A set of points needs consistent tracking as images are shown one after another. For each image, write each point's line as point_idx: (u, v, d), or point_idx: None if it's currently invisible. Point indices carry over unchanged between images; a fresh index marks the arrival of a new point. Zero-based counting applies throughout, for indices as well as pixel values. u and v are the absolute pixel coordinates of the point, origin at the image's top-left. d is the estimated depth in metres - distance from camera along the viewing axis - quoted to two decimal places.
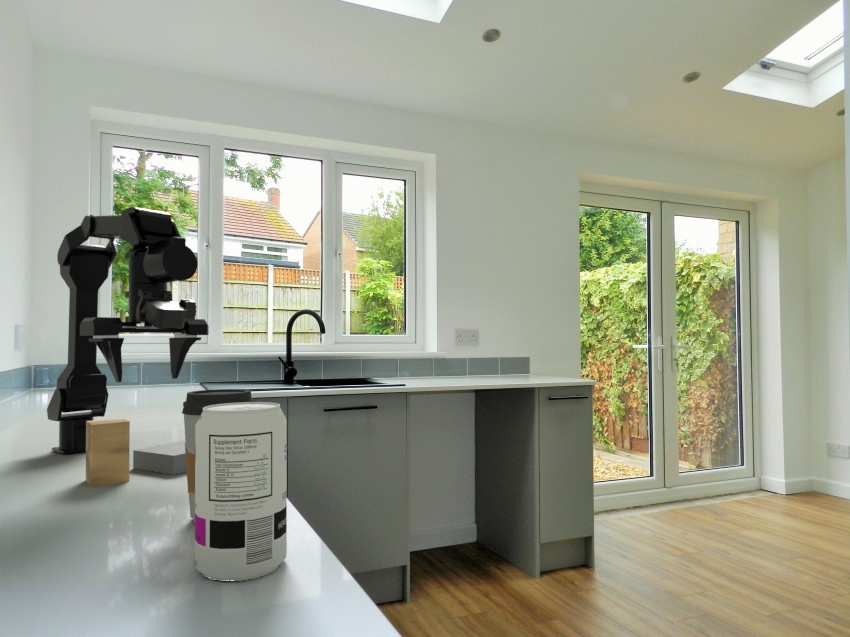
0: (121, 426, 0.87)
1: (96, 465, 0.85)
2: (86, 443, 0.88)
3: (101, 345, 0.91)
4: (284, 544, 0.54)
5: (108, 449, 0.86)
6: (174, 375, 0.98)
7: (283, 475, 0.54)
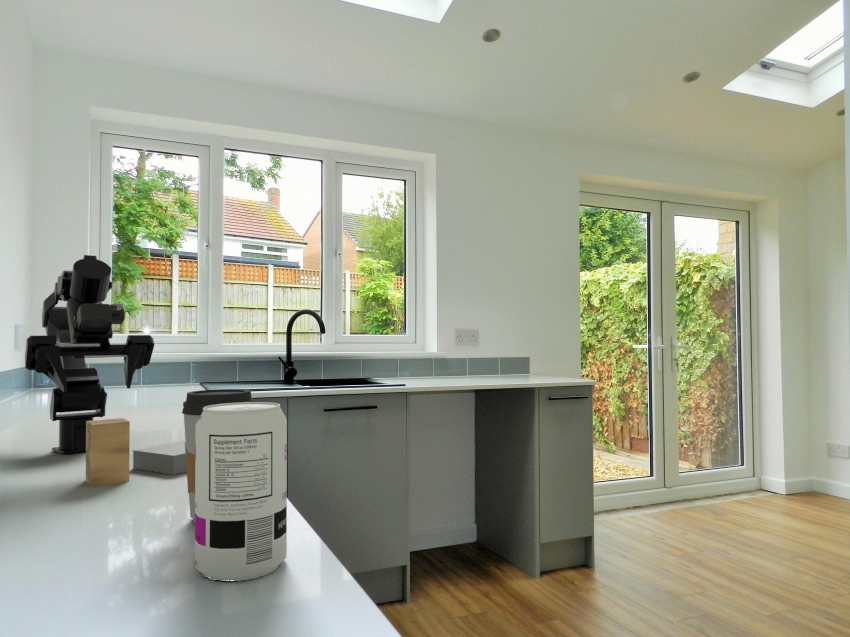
0: (121, 426, 0.87)
1: (96, 465, 0.85)
2: (86, 443, 0.88)
3: (47, 371, 0.95)
4: (284, 544, 0.54)
5: (108, 449, 0.86)
6: (127, 383, 0.97)
7: (283, 475, 0.54)
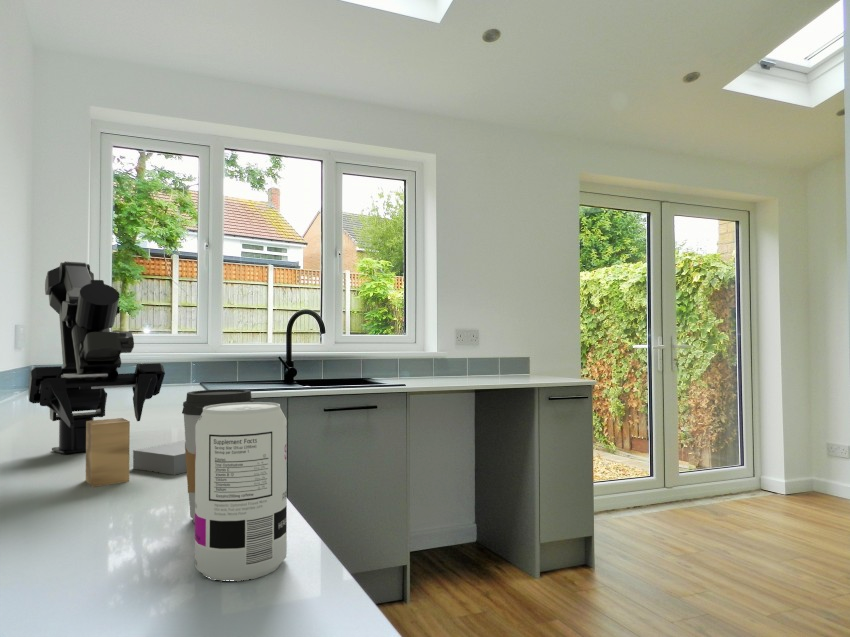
0: (121, 426, 0.87)
1: (96, 465, 0.85)
2: (86, 443, 0.88)
3: (52, 404, 0.89)
4: (284, 544, 0.54)
5: (108, 449, 0.86)
6: (137, 415, 0.92)
7: (283, 475, 0.54)
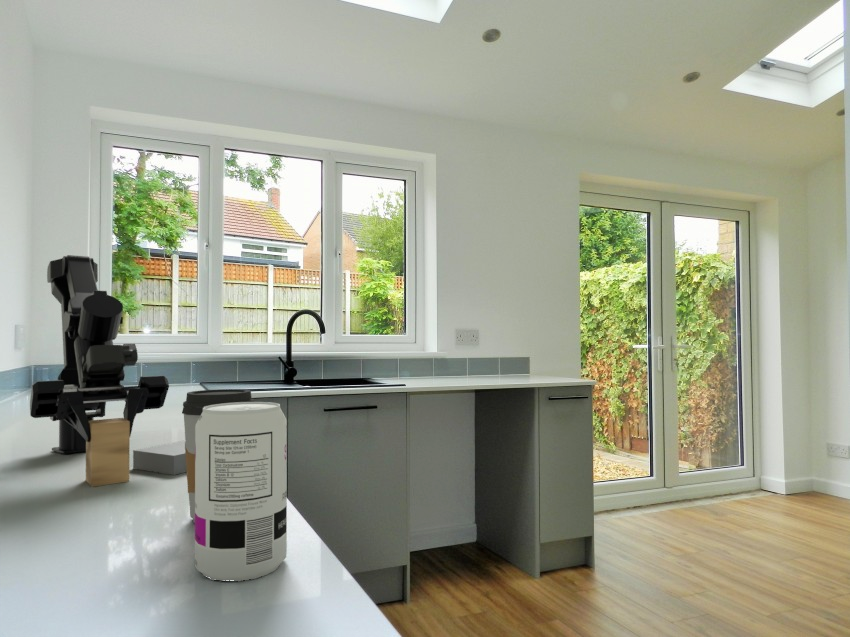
0: (121, 426, 0.87)
1: (96, 464, 0.85)
2: (86, 443, 0.88)
3: (69, 417, 0.88)
4: (284, 544, 0.54)
5: (108, 449, 0.86)
6: None
7: (283, 475, 0.54)
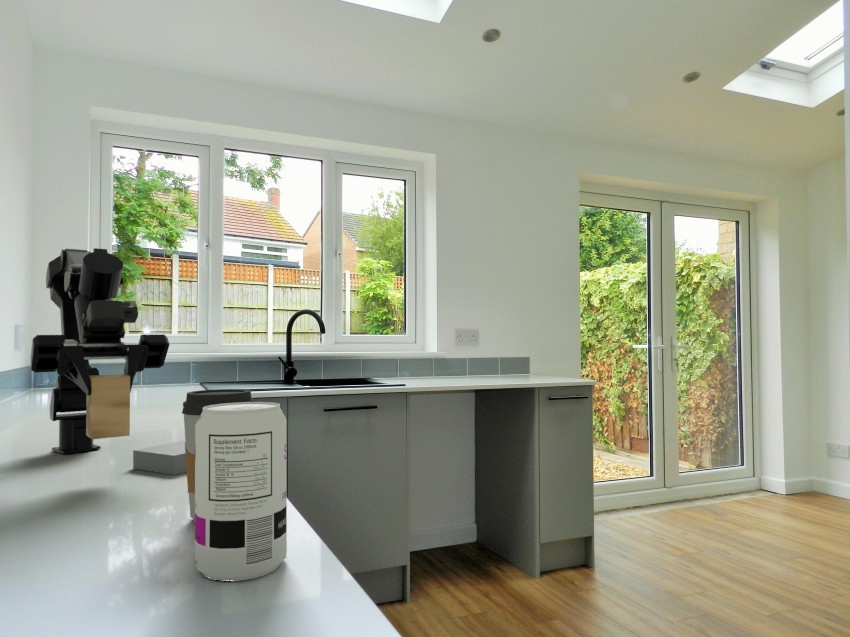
0: (122, 381, 0.87)
1: (97, 418, 0.85)
2: (87, 398, 0.88)
3: (69, 372, 0.89)
4: (284, 544, 0.54)
5: (108, 403, 0.86)
6: None
7: (283, 475, 0.54)
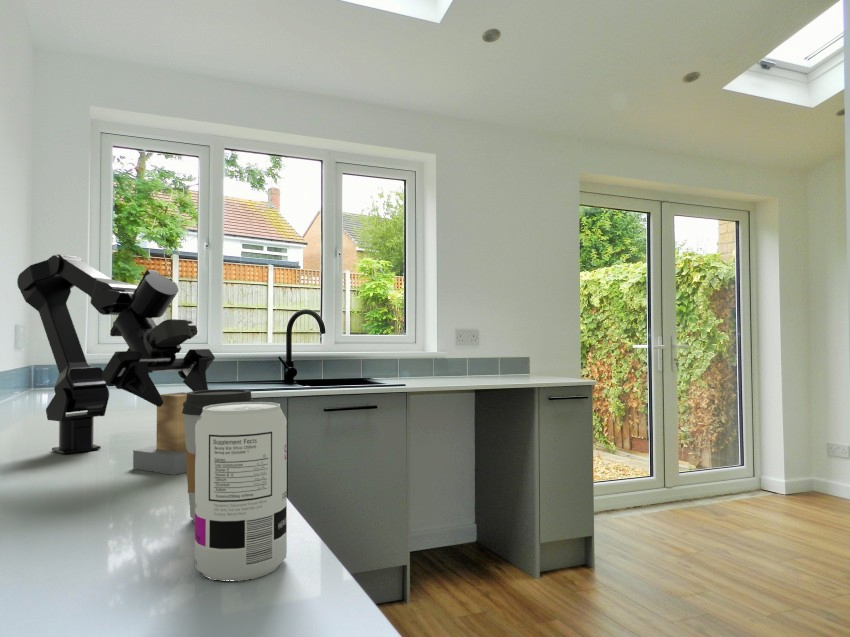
0: None
1: (180, 432, 0.95)
2: (158, 415, 0.97)
3: (129, 386, 0.94)
4: (284, 544, 0.54)
5: None
6: None
7: (283, 475, 0.54)
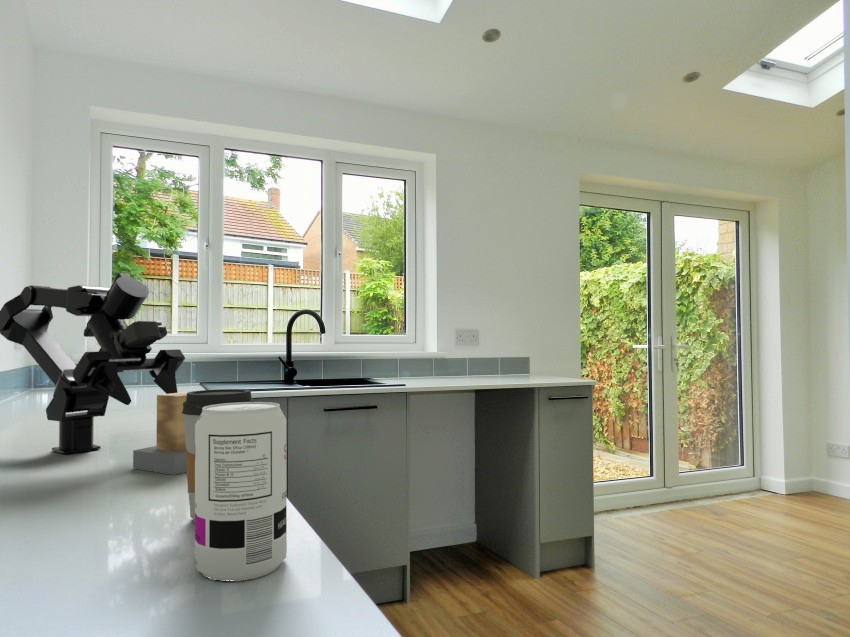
0: None
1: (180, 432, 0.95)
2: (158, 415, 0.97)
3: (99, 385, 0.98)
4: (284, 544, 0.54)
5: None
6: None
7: (283, 475, 0.54)
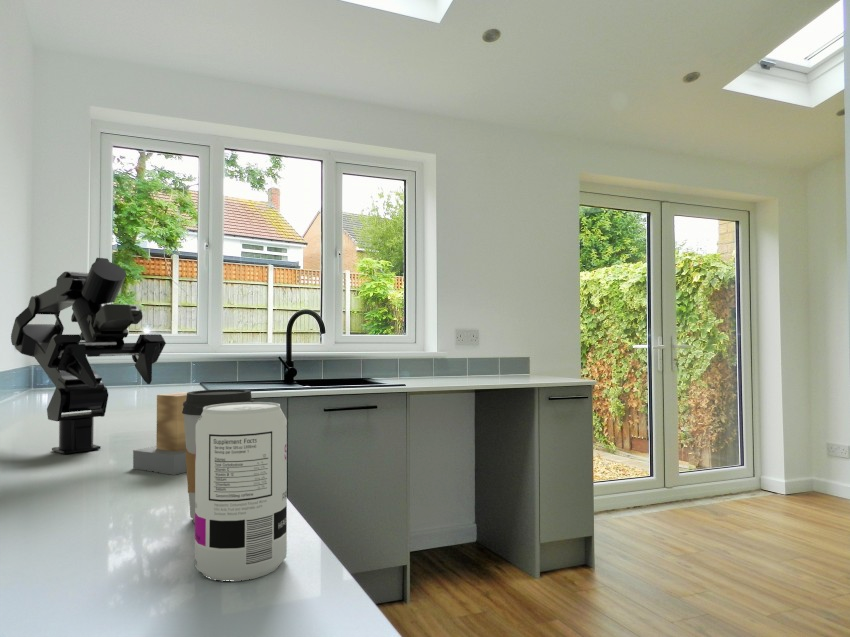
0: None
1: (180, 432, 0.95)
2: (158, 415, 0.97)
3: (69, 368, 0.99)
4: (284, 544, 0.54)
5: None
6: (148, 379, 1.04)
7: (283, 475, 0.54)
